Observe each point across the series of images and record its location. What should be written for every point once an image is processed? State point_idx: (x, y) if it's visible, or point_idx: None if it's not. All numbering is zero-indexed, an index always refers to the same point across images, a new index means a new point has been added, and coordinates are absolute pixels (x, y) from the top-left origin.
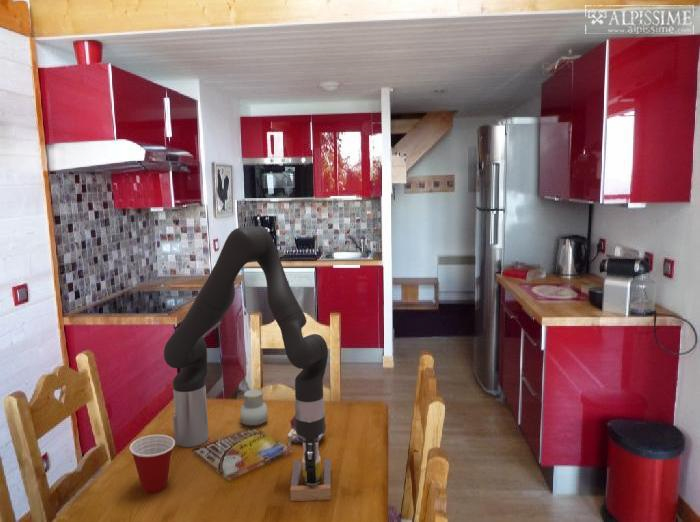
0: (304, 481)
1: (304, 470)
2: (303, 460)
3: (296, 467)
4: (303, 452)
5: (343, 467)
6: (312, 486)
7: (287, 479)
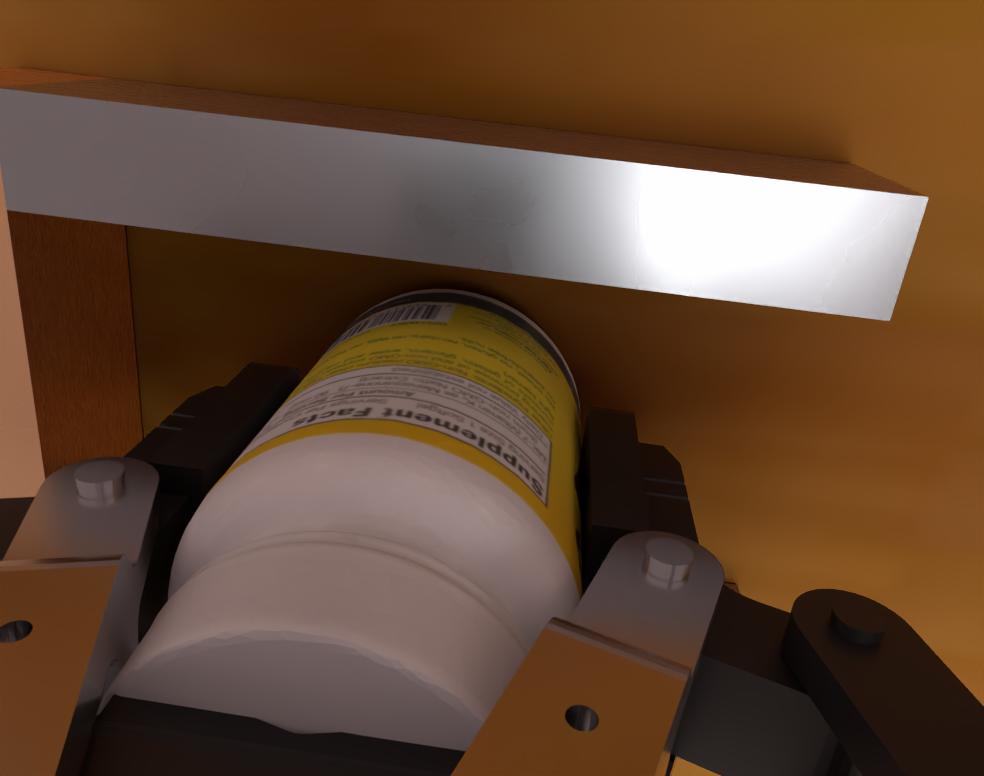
0: (372, 312)
1: (302, 392)
2: (267, 479)
3: (610, 229)
4: (281, 604)
5: (708, 773)
6: (8, 442)
7: (607, 25)
